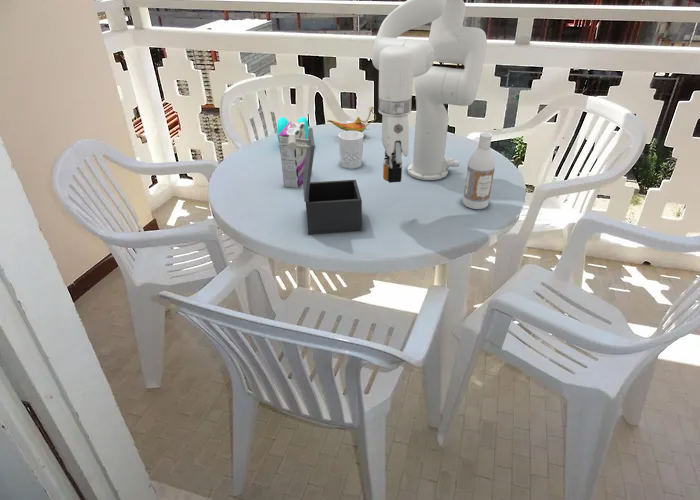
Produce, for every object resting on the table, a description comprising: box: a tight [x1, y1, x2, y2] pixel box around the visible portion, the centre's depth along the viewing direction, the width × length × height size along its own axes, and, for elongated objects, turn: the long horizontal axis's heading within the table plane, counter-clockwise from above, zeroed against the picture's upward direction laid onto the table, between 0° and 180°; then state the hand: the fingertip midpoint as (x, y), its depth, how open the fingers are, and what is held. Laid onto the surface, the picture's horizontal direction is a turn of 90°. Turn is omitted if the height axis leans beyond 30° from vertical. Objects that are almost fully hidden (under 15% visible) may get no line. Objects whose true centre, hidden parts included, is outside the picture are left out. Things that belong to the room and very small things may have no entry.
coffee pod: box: [382, 158, 403, 182], centre depth 120 cm, size 5×5×4 cm
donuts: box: [276, 116, 310, 144], centre depth 167 cm, size 10×10×10 cm
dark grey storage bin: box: [305, 179, 363, 235], centre depth 124 cm, size 14×12×9 cm
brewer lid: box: [288, 127, 316, 203], centre depth 116 cm, size 14×12×6 cm
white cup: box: [338, 130, 364, 170], centre depth 153 cm, size 8×8×10 cm
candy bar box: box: [277, 121, 307, 189], centre depth 142 cm, size 11×5×16 cm, turn 168°
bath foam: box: [462, 132, 496, 210], centre depth 128 cm, size 7×7×20 cm
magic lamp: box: [326, 106, 377, 133], centre depth 173 cm, size 7×18×11 cm, turn 99°
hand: (392, 176), depth 121 cm, fingers closed on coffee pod, 4 cm apart
